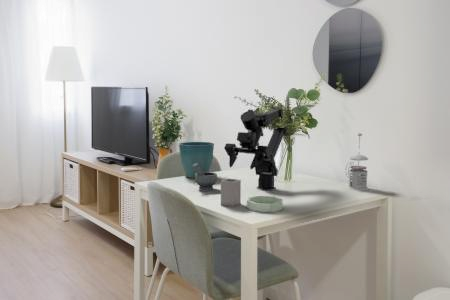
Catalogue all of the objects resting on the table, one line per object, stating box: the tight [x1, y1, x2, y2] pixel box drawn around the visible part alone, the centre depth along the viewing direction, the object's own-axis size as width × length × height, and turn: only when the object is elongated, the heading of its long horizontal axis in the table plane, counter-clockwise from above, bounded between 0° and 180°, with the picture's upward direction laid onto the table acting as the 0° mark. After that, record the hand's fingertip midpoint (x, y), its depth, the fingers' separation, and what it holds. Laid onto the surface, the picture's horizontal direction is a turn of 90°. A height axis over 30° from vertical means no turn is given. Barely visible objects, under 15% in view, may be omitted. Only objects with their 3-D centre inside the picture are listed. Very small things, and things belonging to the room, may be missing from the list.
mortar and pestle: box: [193, 163, 218, 192], centre depth 202 cm, size 11×9×12 cm
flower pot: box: [178, 141, 215, 179], centre depth 233 cm, size 18×18×17 cm
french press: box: [345, 132, 369, 192], centre depth 204 cm, size 10×12×25 cm
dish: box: [246, 195, 284, 213], centre depth 171 cm, size 13×13×3 cm
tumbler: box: [220, 178, 242, 208], centre depth 175 cm, size 6×6×10 cm
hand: (240, 167), depth 181 cm, fingers open, 9 cm apart
